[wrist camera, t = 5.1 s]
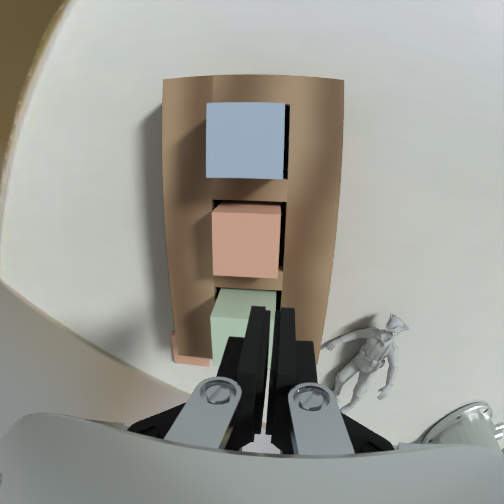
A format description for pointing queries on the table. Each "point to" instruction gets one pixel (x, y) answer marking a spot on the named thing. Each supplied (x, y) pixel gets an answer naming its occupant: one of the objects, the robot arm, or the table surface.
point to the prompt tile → (186, 358)
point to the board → (251, 199)
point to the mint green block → (238, 316)
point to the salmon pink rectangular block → (246, 238)
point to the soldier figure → (370, 358)
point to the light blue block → (245, 140)
